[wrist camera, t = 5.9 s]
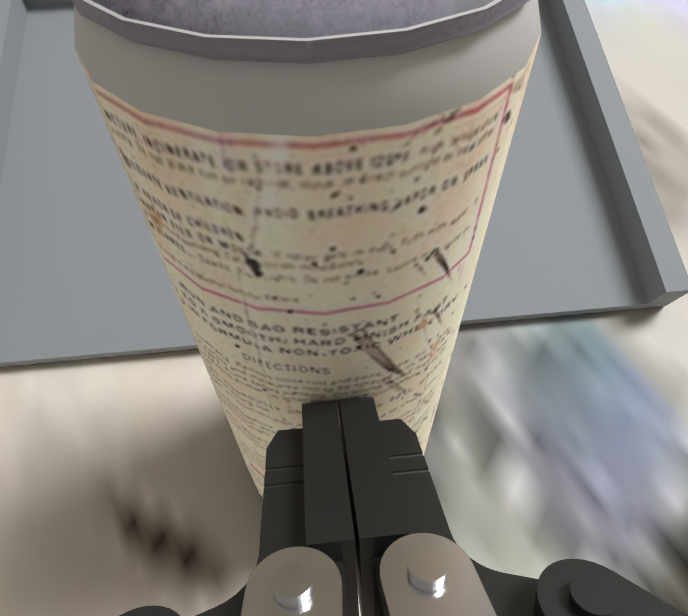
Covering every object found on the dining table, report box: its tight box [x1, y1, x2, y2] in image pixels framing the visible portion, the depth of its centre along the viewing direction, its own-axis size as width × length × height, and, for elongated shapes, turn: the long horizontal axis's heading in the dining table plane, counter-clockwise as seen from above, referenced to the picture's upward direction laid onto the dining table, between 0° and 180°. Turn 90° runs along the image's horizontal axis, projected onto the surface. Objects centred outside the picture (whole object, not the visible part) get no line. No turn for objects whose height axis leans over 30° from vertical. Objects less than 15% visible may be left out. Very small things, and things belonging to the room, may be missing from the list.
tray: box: [0, 0, 688, 367], centre depth 26 cm, size 32×22×2 cm
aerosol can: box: [72, 0, 541, 501], centre depth 12 cm, size 7×7×20 cm
